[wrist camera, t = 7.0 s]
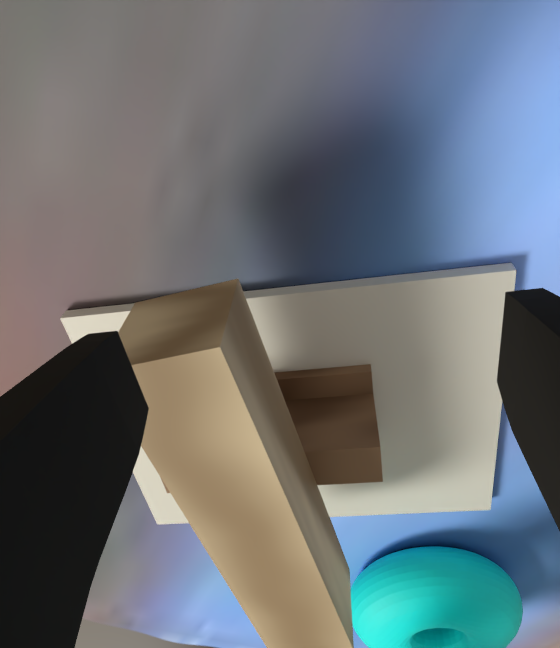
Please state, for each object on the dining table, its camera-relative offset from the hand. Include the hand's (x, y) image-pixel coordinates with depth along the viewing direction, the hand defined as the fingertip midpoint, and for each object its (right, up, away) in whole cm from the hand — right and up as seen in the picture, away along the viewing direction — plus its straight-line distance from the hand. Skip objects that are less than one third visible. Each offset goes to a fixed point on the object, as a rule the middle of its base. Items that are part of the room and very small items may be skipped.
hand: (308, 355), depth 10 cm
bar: (-1, -5, +10) cm, 11 cm away
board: (0, -4, +14) cm, 15 cm away
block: (-1, -3, +14) cm, 14 cm away
